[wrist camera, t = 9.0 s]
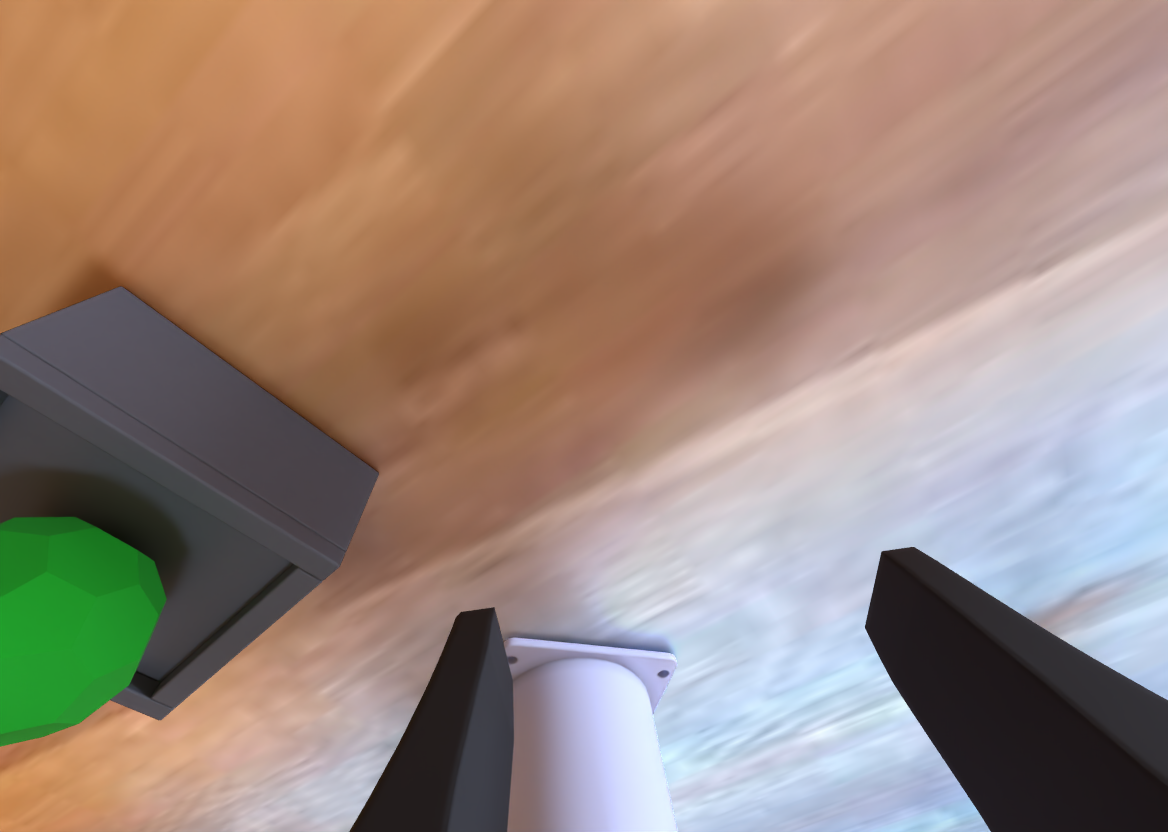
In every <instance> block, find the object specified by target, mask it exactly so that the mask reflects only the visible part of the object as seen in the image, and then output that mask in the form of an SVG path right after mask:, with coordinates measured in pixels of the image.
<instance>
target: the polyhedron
mask: <svg viewBox="0 0 1168 832" xmlns="http://www.w3.org/2000/svg"><path fill="white" fill-rule="evenodd" d="M166 600H167V598H166V595H165V592H164V589H163V586H162V583H161V580H160V577H159V574H158V571H157V568H156V565H155V562H154V561H153V560H152V559H150V558H149V557H147V556H146V555H144V554H143V553H141V552H140V551H138V550H137V549H135V548H133V547H131V546H129V545H128V544H126V543H124V542H122V541H120V540H119V539H117V538H115V537H113V536H112V535H110V534H108V533H106V532H104V531H103V530H101V529H99V528H97V527H95V526H93V525H91V524H89V523H87V522H85V521H83V520H81V519H79V518H77V517H14V518H12V519H9V520H7V521H5V522H2V523H0V746H5V745H9V744H13V743H18V742H22V741H27V740H31V739H36V738H40V737H44V736H47V735H49V734H52V733H55V732H57V731H60V730H63V729H66V728H68V727H71V726H74V725H76V724H79V723H80V722H82V721H83V720H84V719H85V718H87V717H88V716H89V715H91V714H92V713H93V712H95V711H96V710H97V709H99V708H100V707H101V706H102V705H104V704H105V703H106V702H108V701H109V700H110V699H112V698H113V697H114V696H116V695H117V694H118V693H119V692H121V691H122V690H123V689H125V688H126V687H127V686H129V684H130V682H131V680H132V678H133V676H134V674H135V672H136V670H137V668H138V665H139V663H140V661H141V659H142V656H143V654H144V652H145V649H146V647H147V645H148V643H149V640H150V638H151V636H152V633H153V631H154V629H155V627H156V624H157V622H158V619H159V617H160V614H161V612H162V609H163V607H164V605H165V602H166Z"/></svg>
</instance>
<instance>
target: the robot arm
mask: <svg viewBox="0 0 1168 832" xmlns="http://www.w3.org/2000/svg"><path fill="white" fill-rule="evenodd" d="M865 629H866V631H867V633H868V635H869V637H870V639H871V641H872V643H873V645H874V647H875V649H876V651H877V653H878V655H879V657H880V659H881V661H882V663H883V665H884V667H885V669H886V670H887V672H888V674H889V676H890V678H891V680H892V682H893V683H894V685H895V686H896V688H897V690H898V691H899V693H900V694H901V696H902V697H903V699H904V700H905V702H906V703H907V705H908V706H909V708H910V710H911V711H912V713H913V714H914V716H915V717H916V719H917V720H918V722H919V723H920V725H921V726H922V728H923V729H924V731H925V732H926V734H927V735H928V737H929V738H930V740H931V741H932V743H933V744H934V746H935V747H936V749H937V750H938V752H939V753H940V755H941V756H942V758H943V759H944V761H945V762H946V764H947V765H948V767H949V768H950V770H951V771H952V773H953V774H954V776H955V777H956V779H957V780H958V782H959V783H960V785H961V786H962V788H963V789H964V791H965V792H966V794H967V795H968V797H969V798H970V800H971V801H972V803H973V804H974V806H975V807H976V809H977V810H978V812H979V813H980V815H981V816H982V818H983V820H984V821H985V823H986V824H987V826H988V828H989V829H990V831H991V832H1168V700H1166V699H1164V698H1163V697H1161V696H1159V695H1157V694H1155V693H1153V692H1152V691H1150V690H1148V689H1146V688H1144V687H1143V686H1141V685H1139V684H1137V683H1136V682H1134V681H1132V680H1130V679H1129V678H1127V677H1125V676H1123V675H1122V674H1120V673H1118V672H1116V671H1115V670H1113V669H1111V668H1109V667H1108V666H1106V665H1104V664H1102V663H1101V662H1099V661H1097V660H1095V659H1093V658H1092V657H1090V656H1088V655H1087V654H1085V653H1083V652H1082V651H1080V650H1078V649H1077V648H1075V647H1073V646H1072V645H1070V644H1068V643H1067V642H1065V641H1063V640H1062V639H1060V638H1058V637H1057V636H1055V635H1053V634H1052V633H1050V632H1048V631H1047V630H1045V629H1044V628H1042V627H1040V626H1039V625H1037V624H1036V623H1034V622H1032V621H1031V620H1029V619H1027V618H1026V617H1024V616H1023V615H1021V614H1019V613H1018V612H1016V611H1015V610H1013V609H1012V608H1010V607H1008V606H1007V605H1005V604H1004V603H1002V602H1000V601H999V600H997V599H996V598H994V597H993V596H991V595H989V594H988V593H986V592H985V591H983V590H982V589H980V588H978V587H977V586H975V585H974V584H972V583H971V582H969V581H968V580H966V579H964V578H963V577H961V576H960V575H958V574H957V573H955V572H953V571H952V570H950V569H949V568H947V567H946V566H944V565H942V564H941V563H939V562H938V561H936V560H934V559H933V558H931V557H930V556H928V555H926V554H925V553H923V552H921V551H920V550H918V549H916V548H915V547H909V548H902V549H895V550H888V551H882V552H881V557H880V561H879V566H878V570H877V575H876V579H875V584H874V588H873V593H872V597H871V602H870V606H869V611H868V615H867V620H866V625H865ZM510 656H511V657H510ZM676 667H677V661H676V658H675V656H674V655H673V654H671V653H666V652H656V651H646V650H636V649H626V648H616V647H606V646H596V645H586V644H576V643H566V642H556V641H546V640H536V639H526V638H509V639H507V640H505V641H504V642H503V639H502V635H501V631H500V627H499V623H498V620H497V616H496V612H495V608H494V607H493V608H486V609H479V610H472V611H465V612H461V613H460V614H459V615H458V616H457V617H456V619H455V621H454V624H453V627H452V629H451V632H450V634H449V637H448V639H447V642H446V644H445V647H444V649H443V651H442V654H441V656H440V658H439V661H438V663H437V665H436V668H435V670H434V672H433V674H432V676H431V679H430V681H429V683H428V685H427V687H426V690H425V692H424V694H423V696H422V698H421V700H420V702H419V704H418V706H417V708H416V710H415V712H414V714H413V716H412V718H411V720H410V722H409V724H408V726H407V728H406V730H405V732H404V734H403V736H402V738H401V740H400V742H399V744H398V746H397V748H396V750H395V752H394V753H393V755H392V757H391V759H390V761H389V762H388V764H387V766H386V768H385V770H384V772H383V773H382V775H381V777H380V779H379V781H378V783H377V784H376V786H375V788H374V790H373V792H372V794H371V795H370V797H369V799H368V801H367V802H366V804H365V806H364V808H363V809H362V811H361V813H360V814H359V816H358V818H357V820H356V821H355V823H354V825H353V826H352V828H351V830H350V831H349V832H678V829H677V825H676V820H675V815H674V811H673V806H672V802H671V797H670V792H669V788H668V783H667V778H666V774H665V769H664V764H663V760H662V755H661V750H660V746H659V741H658V737H657V732H656V727H655V723H654V718H653V714H654V712H655V710H656V708H657V706H658V704H659V702H660V700H661V698H662V696H663V694H664V692H665V690H666V688H667V686H668V684H669V682H670V680H671V678H672V676H673V674H674V672H675V669H676Z"/></svg>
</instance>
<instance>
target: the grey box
mask: <svg viewBox="0 0 1168 832" xmlns="http://www.w3.org/2000/svg"><path fill="white" fill-rule="evenodd" d="M378 475H379V473H378V472H377V471H375V470H374V469H373V468H371V467H370V466H368V465H367V464H366V463H364V462H363V461H361V460H360V459H359V458H357V457H356V456H355V455H353V454H352V453H350V452H349V451H348V450H346V449H345V448H344V447H342V446H341V445H339V444H338V443H337V442H335V441H334V440H333V439H331V438H330V437H328V436H327V435H326V434H324V433H323V432H322V431H320V430H319V429H317V428H316V427H315V426H313V425H312V424H311V423H309V422H308V421H306V420H305V419H304V418H302V417H301V416H300V415H298V414H297V413H295V412H294V411H293V410H291V409H290V408H289V407H287V406H286V405H284V404H283V403H282V402H280V401H279V400H278V399H276V398H275V397H273V396H272V395H271V394H269V393H268V392H266V391H265V390H264V389H262V388H261V387H260V386H258V385H257V384H255V383H254V382H253V381H251V380H250V379H249V378H247V377H246V376H244V375H243V374H242V373H240V372H239V371H238V370H236V369H235V368H233V367H232V366H231V365H229V364H228V363H227V362H225V361H224V360H222V359H221V358H220V357H218V356H217V355H216V354H214V353H213V352H211V351H210V350H209V349H207V348H206V347H205V346H203V345H202V344H200V343H199V342H198V341H196V340H195V339H194V338H192V337H191V336H189V335H188V334H187V333H185V332H184V331H182V330H181V329H180V328H178V327H177V326H176V325H174V324H173V323H171V322H170V321H169V320H167V319H166V318H165V317H163V316H162V315H160V314H159V313H158V312H156V311H155V310H154V309H152V308H151V307H149V306H148V305H147V304H145V303H144V302H143V301H141V300H140V299H138V298H137V297H136V296H134V295H133V294H132V293H130V292H129V291H127V290H126V289H125V288H123V287H121V286H120V287H117V288H115V289H112V290H110V291H107V292H105V293H102V294H100V295H97V296H94V297H92V298H89V299H87V300H84V301H82V302H79V303H77V304H74V305H72V306H69V307H66V308H64V309H61V310H59V311H56V312H54V313H51V314H49V315H46V316H44V317H41V318H38V319H36V320H33V321H31V322H28V323H26V324H23V325H21V326H18V327H16V328H13V329H10V330H8V331H5V332H3V333H1V334H0V523H2V522H5V521H7V520H9V519H12V518H14V517H77V518H79V519H81V520H83V521H85V522H87V523H89V524H91V525H93V526H95V527H97V528H99V529H101V530H103V531H104V532H106V533H108V534H110V535H112V536H113V537H115V538H117V539H119V540H120V541H122V542H124V543H126V544H128V545H129V546H131V547H133V548H135V549H137V550H138V551H140V552H141V553H143V554H144V555H146V556H147V557H149V558H150V559H152V560H153V561H154V562H155V565H156V568H157V571H158V574H159V577H160V580H161V583H162V586H163V589H164V592H165V595H166V598H167V600H166V602H165V605H164V607H163V609H162V612H161V614H160V617H159V619H158V622H157V624H156V627H155V629H154V631H153V633H152V636H151V638H150V640H149V643H148V645H147V647H146V649H145V652H144V654H143V656H142V659H141V661H140V663H139V665H138V668H137V670H136V672H135V674H134V676H133V678H132V680H131V682H130V684H129V686H127V687H126V688H125V689H123V690H122V691H121V692H119V693H118V694H117V695H116V696H114V697H113V698H112V699H110V700H111V701H113V702H116V703H118V704H121V705H123V706H125V707H128V708H130V709H133V710H135V711H138V712H140V713H143V714H145V715H147V716H150V717H152V718H155V719H157V720H162V719H163V718H164V717H165V716H166V715H168V714H169V713H170V712H171V711H172V710H173V709H174V708H176V707H177V706H178V705H179V704H180V703H181V702H183V701H184V700H185V699H186V698H187V697H188V696H190V695H191V694H192V693H193V692H194V691H195V690H197V689H198V688H199V687H200V686H201V685H202V684H204V683H205V682H206V681H207V680H208V679H209V678H211V677H212V676H213V675H214V674H215V673H216V672H218V671H219V670H220V669H221V668H222V667H223V666H225V665H226V664H227V663H228V662H229V661H230V660H232V659H233V658H234V657H235V656H236V655H237V654H239V653H240V652H241V651H242V650H243V649H244V648H245V647H247V646H248V645H249V644H250V643H251V642H252V641H254V640H255V639H256V638H257V637H258V636H259V635H261V634H262V633H263V632H264V631H265V630H266V629H268V628H269V627H270V626H271V625H272V624H273V623H275V622H276V621H277V620H278V619H279V618H280V617H282V616H283V615H284V614H285V613H286V612H287V611H289V610H290V609H291V608H292V607H293V606H294V605H296V604H297V603H298V602H299V601H300V600H301V599H303V598H304V597H305V596H306V595H307V594H308V593H310V592H311V591H312V590H313V589H314V588H315V587H317V586H318V585H319V584H320V583H321V582H322V581H323V580H325V579H326V578H327V577H328V576H329V575H330V574H332V573H333V572H334V571H335V570H336V569H337V568H339V567H340V565H341V562H342V560H343V558H344V555H345V552H346V551H347V548H348V546H349V544H350V541H351V539H352V537H353V534H354V532H355V530H356V527H357V525H358V522H359V520H360V518H361V515H362V513H363V511H364V508H365V506H366V504H367V501H368V499H369V497H370V494H371V492H372V489H373V487H374V485H375V482H376V480H377V478H378Z"/></svg>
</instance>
